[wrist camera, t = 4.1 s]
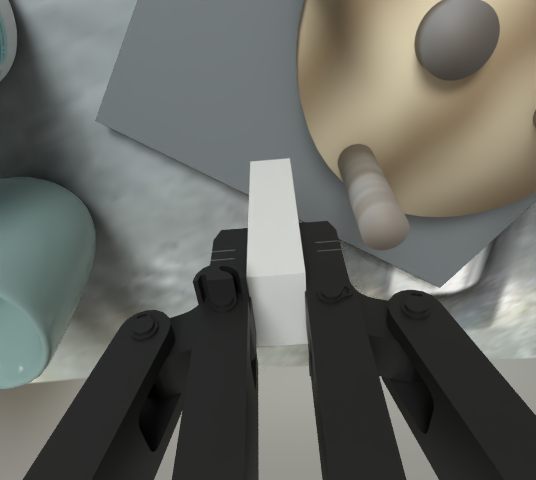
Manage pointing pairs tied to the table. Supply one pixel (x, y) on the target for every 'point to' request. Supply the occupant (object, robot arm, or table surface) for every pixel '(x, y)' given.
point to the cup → (39, 272)
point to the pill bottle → (7, 38)
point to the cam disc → (421, 105)
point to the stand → (258, 119)
